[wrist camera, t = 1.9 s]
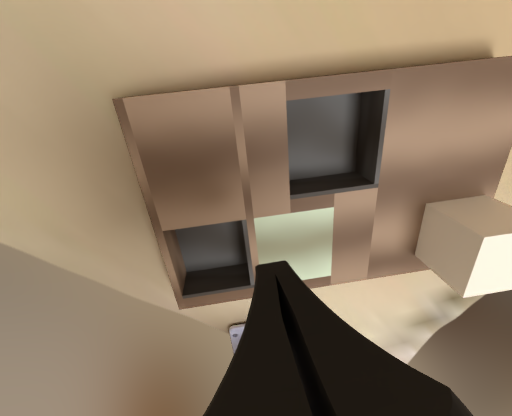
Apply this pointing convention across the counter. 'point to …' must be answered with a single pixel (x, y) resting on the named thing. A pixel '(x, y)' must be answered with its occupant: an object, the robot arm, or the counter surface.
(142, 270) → the counter surface
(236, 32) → the counter surface
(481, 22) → the counter surface
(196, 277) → the trap board
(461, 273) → the block
